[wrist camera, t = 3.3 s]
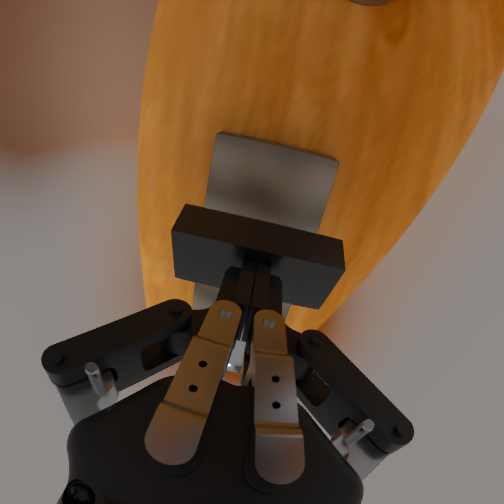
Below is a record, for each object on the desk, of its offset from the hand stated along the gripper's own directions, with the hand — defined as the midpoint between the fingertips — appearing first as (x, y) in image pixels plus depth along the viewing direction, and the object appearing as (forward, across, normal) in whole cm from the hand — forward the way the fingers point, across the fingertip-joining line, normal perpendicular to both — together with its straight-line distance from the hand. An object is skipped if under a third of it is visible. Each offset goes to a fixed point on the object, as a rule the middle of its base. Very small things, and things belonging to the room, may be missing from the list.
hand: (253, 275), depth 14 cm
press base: (+16, 0, +7) cm, 17 cm away
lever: (+7, 0, +7) cm, 10 cm away
